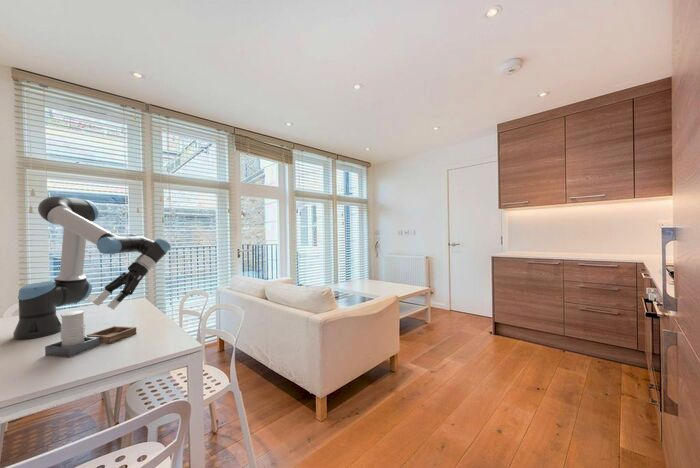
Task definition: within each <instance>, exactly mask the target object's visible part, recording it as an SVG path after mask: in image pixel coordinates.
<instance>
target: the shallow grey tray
mask: <svg viewBox="0 0 700 468" xmlns="http://www.w3.org/2000/svg"><path fill="white" fill-rule="evenodd" d="M84 340H85V342H83V343H80V344H77V345H74V346H71V347H61V346H62V340H61V341H58V342H55V343H52V344H49V345H46V346H44V350H45V351H44V355H45V357H57V358H66V359H67V358H68V359H69V358H71V357H74V356H76V355H79V354H82V353H85V352H87V351H90V350H93V349H95V348H97V347H99V346H100V343H99V338H98V337H87V336H84Z"/></svg>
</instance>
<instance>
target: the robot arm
mask: <svg viewBox="0 0 700 468" xmlns="http://www.w3.org/2000/svg"><path fill="white" fill-rule="evenodd" d="M37 209H38V210H37V211H38V214H39V216H40V217H41V218H42V219H44V220H45V221H46V222H49V223H50V224H51V225H58V226H60V227H63V233H62V244H61V256H60V257H61V258H60V267H59V274H58V275H57V276H56V277H55V278H54V281H53V280H52V281H51V280H47V281H40V282H35V283H30V284H29V283H28V284H27V285H24V286H22V287H20V288H19V290H18V296H17V299H18V322H17V324H16V327H15V329H14V331H13V335H12V336H13V339H14V340H18V341H19V340H30V339H31V340H32V339H36V338H42V337H46V336H50V335H53V334H56V333H59V332H61V328H62V322H61V321H60V319H59V317H58V315H57V308H59V307H62V306H67V305H72V304H77V303H79V302H82V301H85V300H86V299H88V298H89V297H90V295H91V293H92V292H93V291H92V290H93V286H92V283H91V281H90V280H88V279H87V278H88V277H87V276H86V275H85V274H84V269H85V268H84V267H85V258H86V257H85V256H86V243H87V241H88V242H90V243H92V244H94V245H95V246H96V248H97V250H98V251H99V253H101V254H103V255H115V254H116V255H117V254H127V253H128V254H129V253H140V255H139V256H138V257H137V258H136V259H135V260H134V262H132V263H131V264H129V266H128V267H127V270H128V272H127V273H126V272H123V273H121V274H120V275H118V277H116V278H115V279H114V280H112V281H111V282H109V283H108V284H107V285H105V286H104V288H103V289H104V290H103V291H102V292H101V293H100V294H99V295H98V296H97V297H96V298H95V299H94V300H93V301H92V303H93V304H95V305H96V306H98V307H99V306H100V305H101V304H103V302H104V301H106V299H107V298H108V297H109V296H110V295H112V294H113V292H114V291H115V290H117V289H118V288H120V287H122V286H124V287H123V288H122V290H121V291H120V292H119V293H118V294H117V295H116V296H115V297H114V298H113V299H112V300H111V301H110V302H109V303H108V304H107V305H106V307H108V308H109V309H112V310H115V309H116V308H117V306H119V305H120V304H121V303H122V301H124V299H125V298H126V297H128V296H132V295H133V294H134V292H135V290H136V289H137V287H138V285H139V283H140V282H141V281H142V279H143V278H144V277H145V276H146V275H147V274H148V273H149V271H150V270H152V269H153V268H155V265H156V264H157V263H158V262H159V261H160V260H161V259H162V258H163V257H164V256H165V255H166V254H167V253H168V252H169V251H170V250H171V244H170V243H169V242H168V241H167V240H165V239H163V238H161V237H160V238H159V237H158V238H157V239H155V240H152V239H149V238H146V237H144V236H143V235H140V234H137V233H130V234H127V235H126V236H119V235H117V234H114V233H112V232H111V231H110V230H107V229H106V228H103V227H101V226H99V225H98V224H97V223H94V222H95V221H96V220H97V219H98V217H99V214H100V213H99V208H98V206H97V205H96V204H95V203H94V202H93V201H91V200H88V199H84V198H77V197H65V196H50V197H46V198H44V199H43V200H42V201H40V203H39V204H38V208H37Z"/></svg>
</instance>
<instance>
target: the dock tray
mask: <svg viewBox="0 0 700 468" xmlns="http://www.w3.org/2000/svg"><path fill="white" fill-rule="evenodd" d="M134 335H137V327H136V326H123V325H122V326H119V325H113V326H110V327H108V328H104V329H101V330H99V331H96V332H93V333H89V334H86V337H98V338H99V344H104V345H105V344H107V345H112V344H115V343H116V342H119V341H121V340H124V339H127V338H130V337H132V336H134Z"/></svg>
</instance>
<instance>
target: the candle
mask: <svg viewBox="0 0 700 468" xmlns="http://www.w3.org/2000/svg"><path fill="white" fill-rule="evenodd" d="M84 314H85V310H73V311H67V312H63V313H61V314H60V317H61V327H62V328H61V331H60V334H61V335H60V340H61V341H62V346H61V347H71V346H74V345H77V344H80V343H83V342H85V340H84V337H85V336H86V333H85V332H86V331H85V329H86V328H85V327H86V325H85V324H84V323H85V322H84V319H85V318H84Z"/></svg>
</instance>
